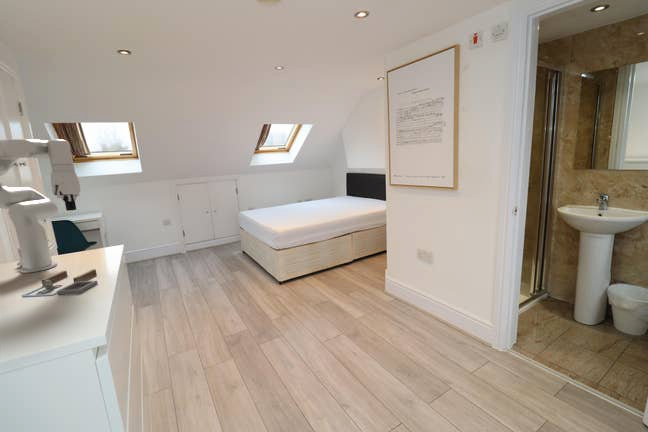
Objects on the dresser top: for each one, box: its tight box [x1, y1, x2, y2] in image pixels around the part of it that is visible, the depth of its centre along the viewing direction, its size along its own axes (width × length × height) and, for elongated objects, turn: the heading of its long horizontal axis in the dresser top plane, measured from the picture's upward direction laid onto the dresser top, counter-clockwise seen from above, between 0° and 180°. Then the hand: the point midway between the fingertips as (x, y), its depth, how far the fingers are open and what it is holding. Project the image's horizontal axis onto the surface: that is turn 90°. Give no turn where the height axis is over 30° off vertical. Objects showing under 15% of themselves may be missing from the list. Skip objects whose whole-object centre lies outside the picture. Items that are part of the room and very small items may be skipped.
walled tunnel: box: [41, 268, 97, 286], centre depth 123 cm, size 14×10×2 cm
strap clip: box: [35, 280, 63, 295], centre depth 114 cm, size 8×3×4 cm, turn 0°
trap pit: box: [56, 280, 98, 296], centre depth 113 cm, size 8×9×2 cm
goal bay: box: [21, 285, 57, 298], centre depth 113 cm, size 12×9×1 cm
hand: (71, 210), depth 134 cm, fingers closed
